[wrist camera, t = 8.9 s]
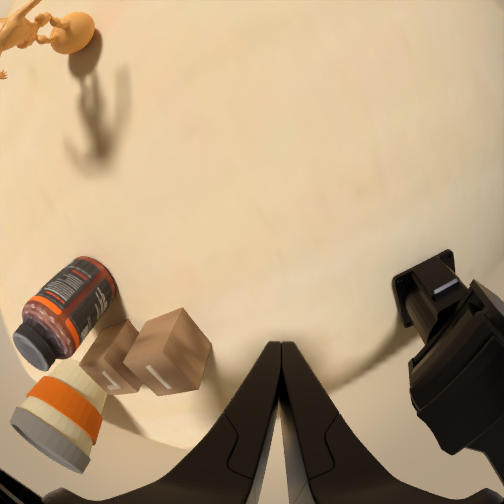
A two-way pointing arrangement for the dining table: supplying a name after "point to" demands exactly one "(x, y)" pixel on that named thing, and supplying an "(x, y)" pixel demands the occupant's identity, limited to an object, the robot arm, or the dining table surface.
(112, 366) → the block seven
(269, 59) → the dining table surface
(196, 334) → the block one
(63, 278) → the supplement bottle
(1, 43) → the figurine
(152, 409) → the dining table surface
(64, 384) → the reusable coffee cup
